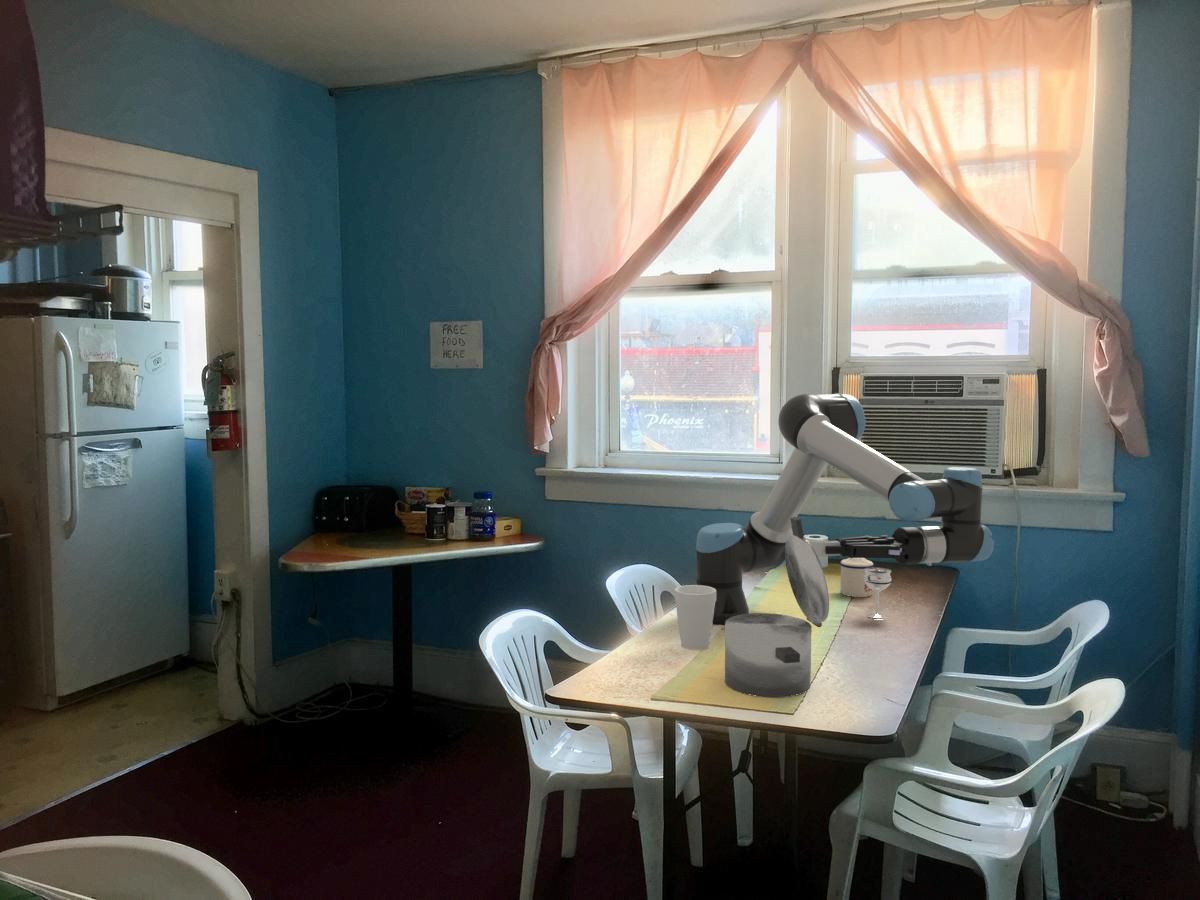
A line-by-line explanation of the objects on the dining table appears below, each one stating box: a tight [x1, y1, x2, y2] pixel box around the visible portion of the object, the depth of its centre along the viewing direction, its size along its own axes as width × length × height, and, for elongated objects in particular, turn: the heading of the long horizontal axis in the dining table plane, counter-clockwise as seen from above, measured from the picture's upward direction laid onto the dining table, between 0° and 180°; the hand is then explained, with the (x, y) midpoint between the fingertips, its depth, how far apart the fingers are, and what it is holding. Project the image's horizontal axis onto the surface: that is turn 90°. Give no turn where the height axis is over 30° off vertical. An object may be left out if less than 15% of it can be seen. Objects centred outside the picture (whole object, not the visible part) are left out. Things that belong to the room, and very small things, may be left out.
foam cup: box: [674, 584, 716, 651], centre depth 211 cm, size 10×9×13 cm
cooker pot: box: [724, 612, 812, 698], centre depth 186 cm, size 17×26×12 cm, turn 10°
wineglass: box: [864, 567, 892, 618], centre depth 236 cm, size 7×7×12 cm
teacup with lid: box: [839, 557, 875, 598], centre depth 262 cm, size 12×9×12 cm
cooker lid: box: [785, 517, 830, 628], centre depth 186 cm, size 22×18×1 cm
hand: (807, 549), depth 185 cm, fingers closed
